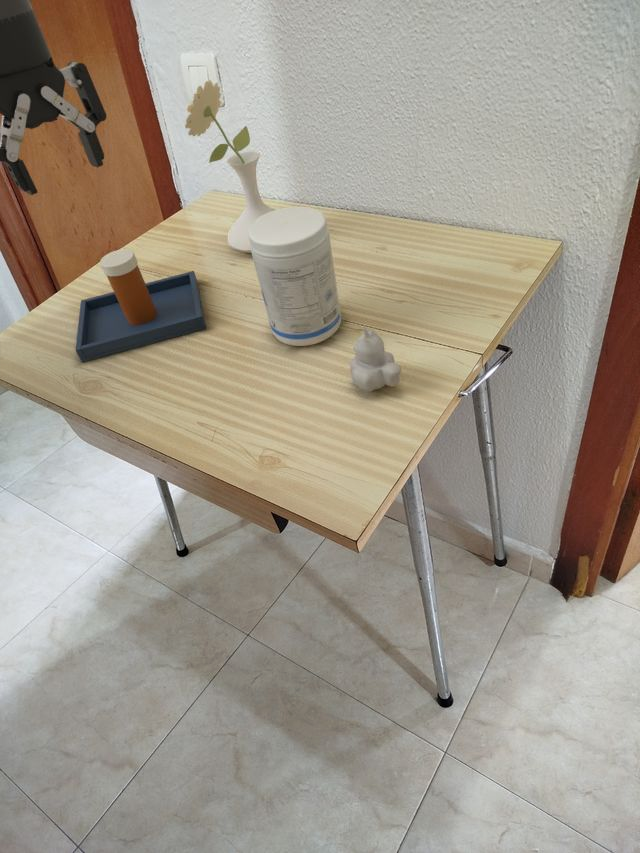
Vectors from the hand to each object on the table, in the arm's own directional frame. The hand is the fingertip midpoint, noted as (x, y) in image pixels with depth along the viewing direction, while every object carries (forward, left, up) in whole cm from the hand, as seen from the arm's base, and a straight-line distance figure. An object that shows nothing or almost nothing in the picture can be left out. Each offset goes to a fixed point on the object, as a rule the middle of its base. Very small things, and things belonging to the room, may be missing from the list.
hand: (65, 179), depth 69 cm
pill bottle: (+1, +3, -22) cm, 22 cm away
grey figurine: (+28, -25, -22) cm, 44 cm away
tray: (+1, +3, -22) cm, 22 cm away
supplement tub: (+23, -10, -22) cm, 34 cm away
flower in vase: (+21, +17, -22) cm, 35 cm away
